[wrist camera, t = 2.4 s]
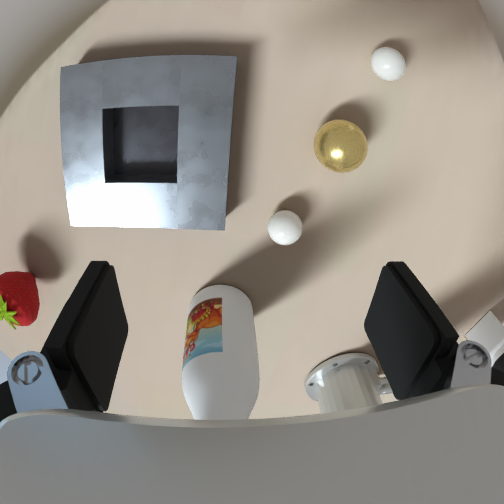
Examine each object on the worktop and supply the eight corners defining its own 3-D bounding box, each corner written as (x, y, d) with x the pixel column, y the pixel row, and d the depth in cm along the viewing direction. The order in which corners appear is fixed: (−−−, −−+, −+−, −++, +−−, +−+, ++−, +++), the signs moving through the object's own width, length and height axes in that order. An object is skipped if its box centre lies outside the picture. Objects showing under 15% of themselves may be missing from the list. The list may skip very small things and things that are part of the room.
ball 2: (396, 53, 24) (414, 52, 21) (393, 84, 26) (410, 85, 23) (366, 44, 24) (381, 41, 21) (362, 76, 26) (378, 76, 23)
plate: (236, 59, 24) (237, 56, 22) (224, 217, 32) (224, 230, 30) (74, 67, 23) (60, 67, 20) (81, 214, 31) (70, 225, 28)
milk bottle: (247, 277, 36) (264, 438, 19) (256, 325, 40) (273, 470, 23) (182, 287, 36) (159, 444, 19) (198, 333, 40) (190, 476, 23)
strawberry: (44, 304, 36) (15, 354, 28) (6, 270, 33) (-30, 315, 25) (60, 282, 35) (28, 334, 26) (20, 244, 32) (-21, 290, 23)
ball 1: (300, 206, 32) (308, 220, 29) (296, 236, 34) (302, 252, 31) (267, 204, 32) (272, 217, 29) (264, 234, 34) (267, 250, 31)
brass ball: (359, 121, 28) (380, 128, 24) (351, 167, 30) (370, 182, 26) (311, 113, 27) (326, 118, 23) (305, 161, 30) (318, 176, 26)
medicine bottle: (463, 335, 47) (493, 381, 36) (489, 309, 44) (523, 352, 34) (473, 346, 49) (500, 388, 39) (497, 322, 47) (527, 362, 36)
